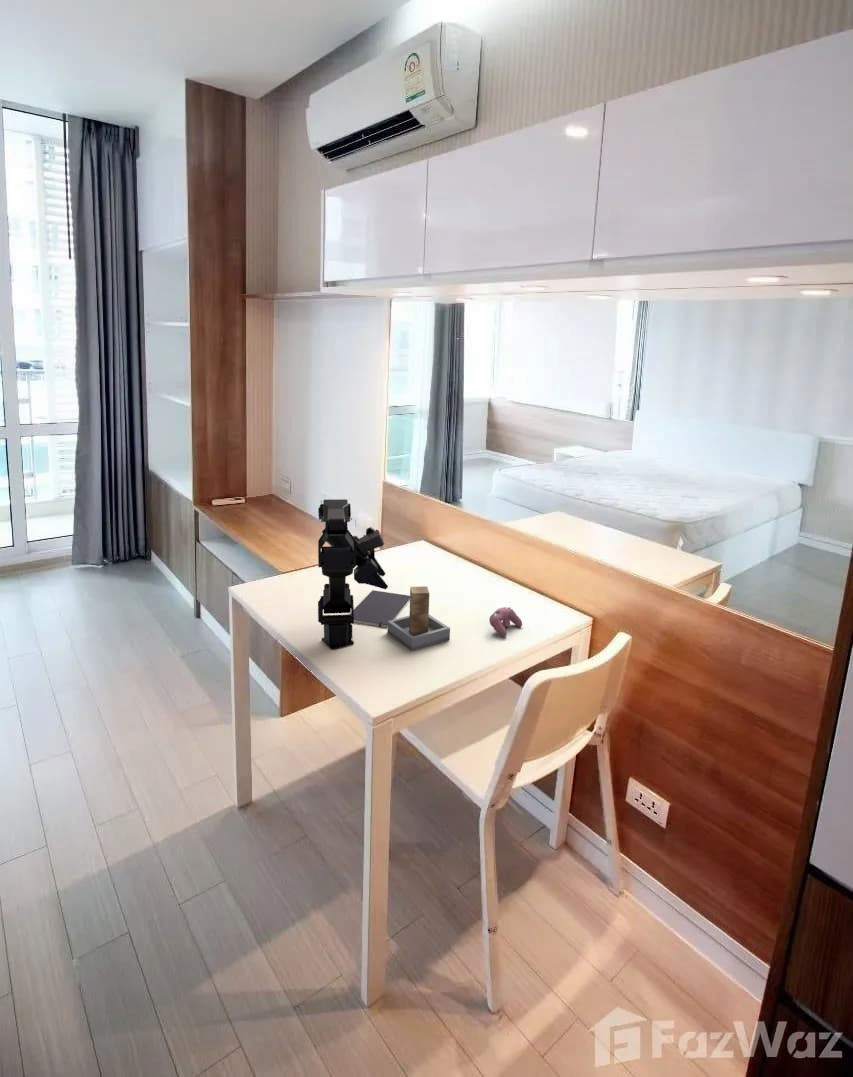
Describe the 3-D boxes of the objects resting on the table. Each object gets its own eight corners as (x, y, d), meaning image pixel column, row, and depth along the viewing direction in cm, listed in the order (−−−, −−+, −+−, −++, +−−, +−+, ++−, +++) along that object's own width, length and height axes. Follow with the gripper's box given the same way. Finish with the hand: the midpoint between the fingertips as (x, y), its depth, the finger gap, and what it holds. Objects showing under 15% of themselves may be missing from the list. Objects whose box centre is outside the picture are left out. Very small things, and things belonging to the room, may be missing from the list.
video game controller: (511, 627, 185) (503, 604, 185) (524, 625, 182) (516, 601, 182) (492, 639, 177) (484, 615, 177) (505, 637, 174) (497, 612, 174)
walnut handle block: (410, 637, 172) (412, 593, 168) (409, 629, 176) (410, 586, 172) (427, 636, 172) (429, 593, 168) (425, 629, 176) (427, 586, 173)
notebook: (372, 594, 202) (345, 622, 182) (372, 590, 201) (345, 617, 182) (411, 600, 198) (388, 629, 179) (411, 595, 198) (388, 624, 178)
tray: (411, 651, 166) (412, 638, 165) (387, 633, 176) (387, 621, 175) (449, 639, 173) (450, 627, 172) (424, 623, 182) (424, 611, 181)
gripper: (367, 532, 160) (411, 573, 165) (364, 512, 178) (403, 549, 183) (335, 563, 161) (379, 603, 166) (335, 539, 179) (375, 576, 184)
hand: (385, 581), depth 175 cm, fingers open, 9 cm apart
